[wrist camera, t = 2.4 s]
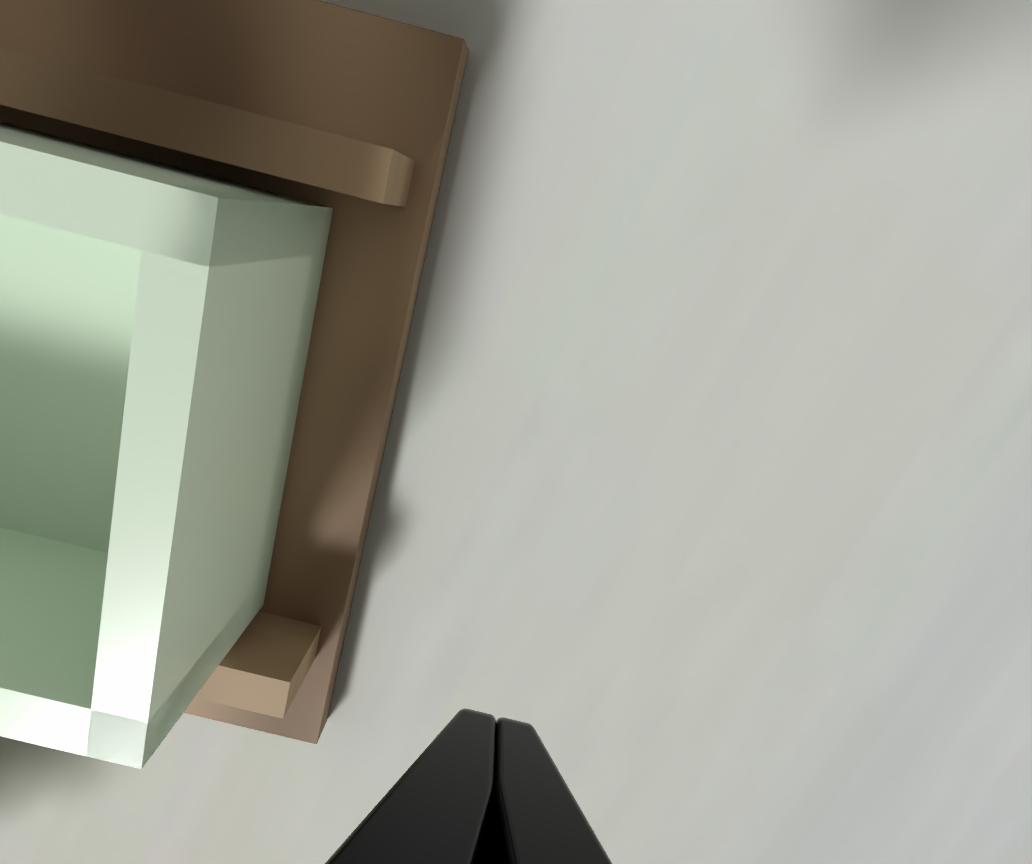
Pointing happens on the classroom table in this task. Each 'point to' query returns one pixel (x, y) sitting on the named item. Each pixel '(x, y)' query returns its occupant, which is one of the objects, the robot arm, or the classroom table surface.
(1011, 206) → the classroom table surface
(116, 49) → the wooden serving tray
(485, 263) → the classroom table surface
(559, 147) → the classroom table surface
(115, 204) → the sage green bevelled box
